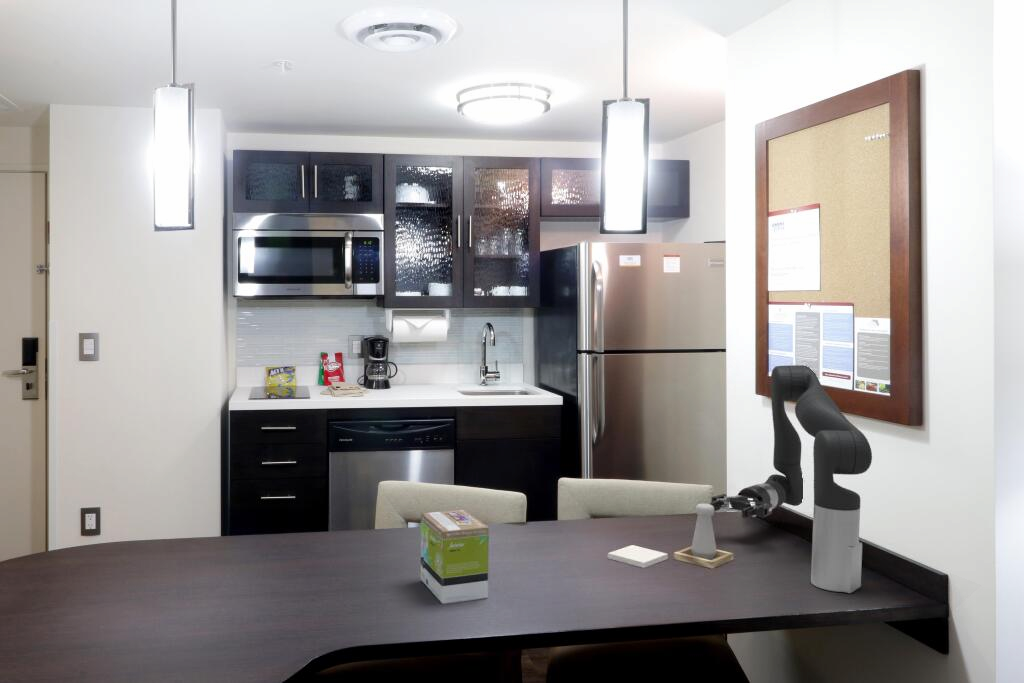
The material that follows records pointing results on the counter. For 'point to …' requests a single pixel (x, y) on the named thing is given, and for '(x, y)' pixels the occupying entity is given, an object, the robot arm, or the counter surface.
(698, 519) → the salt shaker
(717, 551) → the frame
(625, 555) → the coaster
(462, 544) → the tea box
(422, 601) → the counter surface
